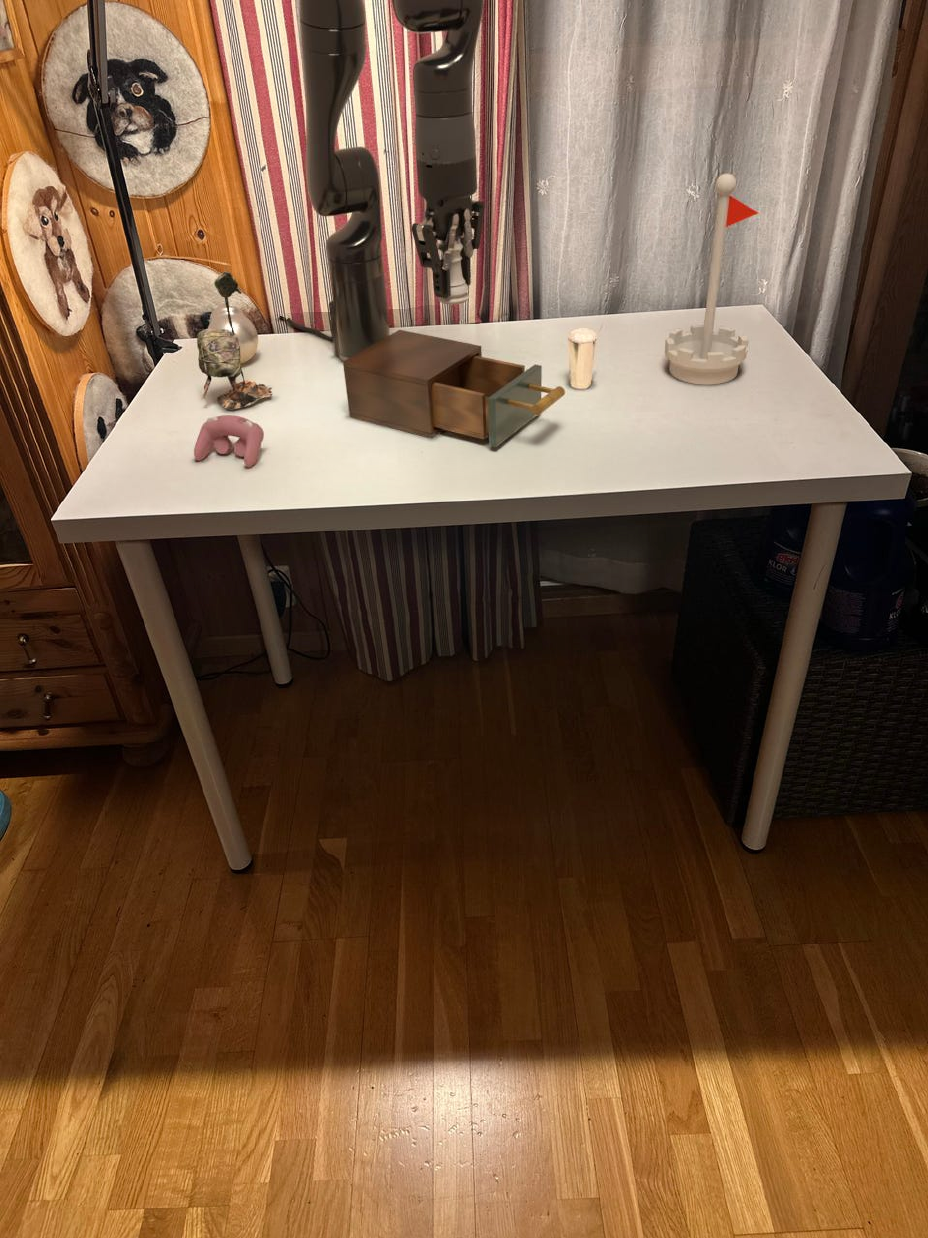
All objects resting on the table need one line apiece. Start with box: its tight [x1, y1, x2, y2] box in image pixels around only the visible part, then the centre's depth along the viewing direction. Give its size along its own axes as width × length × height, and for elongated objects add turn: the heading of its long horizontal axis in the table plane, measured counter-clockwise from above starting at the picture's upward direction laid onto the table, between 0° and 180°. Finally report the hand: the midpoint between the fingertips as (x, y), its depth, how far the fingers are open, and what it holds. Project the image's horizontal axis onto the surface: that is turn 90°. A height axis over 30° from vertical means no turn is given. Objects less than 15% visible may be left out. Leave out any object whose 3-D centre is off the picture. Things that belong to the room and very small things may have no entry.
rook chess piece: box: [436, 237, 470, 306], centre depth 124 cm, size 4×4×8 cm
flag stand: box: [664, 173, 759, 386], centre depth 143 cm, size 13×13×30 cm
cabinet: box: [342, 329, 483, 439], centre depth 143 cm, size 16×15×9 cm
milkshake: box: [567, 325, 603, 390], centre depth 147 cm, size 4×5×10 cm
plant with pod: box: [194, 270, 273, 411], centre depth 145 cm, size 8×11×20 cm
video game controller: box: [193, 414, 265, 468], centre depth 134 cm, size 10×5×7 cm, turn 71°
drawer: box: [431, 355, 566, 448], centre depth 136 cm, size 20×13×7 cm, turn 57°
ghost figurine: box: [207, 303, 259, 365], centre depth 161 cm, size 9×10×10 cm
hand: (452, 290), depth 126 cm, fingers closed on rook chess piece, 4 cm apart
